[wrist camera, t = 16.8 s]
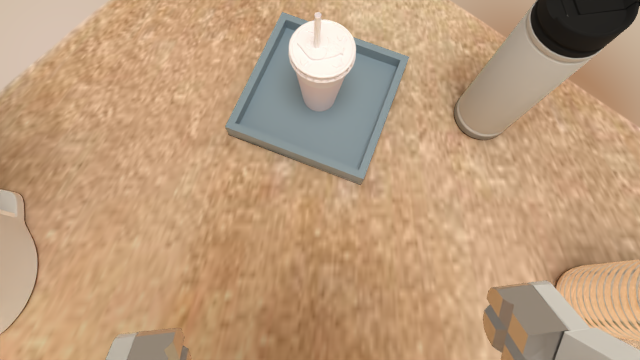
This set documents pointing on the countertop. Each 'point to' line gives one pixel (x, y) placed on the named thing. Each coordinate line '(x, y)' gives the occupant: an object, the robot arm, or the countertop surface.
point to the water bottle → (605, 296)
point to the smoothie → (321, 60)
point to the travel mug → (539, 60)
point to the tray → (312, 126)
